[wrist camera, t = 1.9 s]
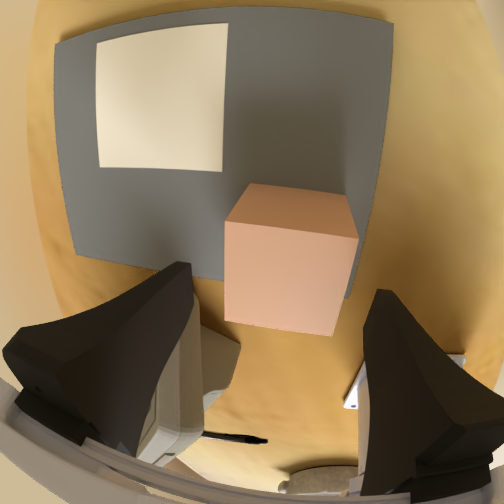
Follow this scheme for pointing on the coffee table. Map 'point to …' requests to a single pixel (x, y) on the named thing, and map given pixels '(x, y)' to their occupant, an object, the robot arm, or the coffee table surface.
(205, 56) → the mat
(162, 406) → the digital clock
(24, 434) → the robot arm
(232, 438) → the pen
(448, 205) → the coffee table surface
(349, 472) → the dish
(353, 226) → the block
